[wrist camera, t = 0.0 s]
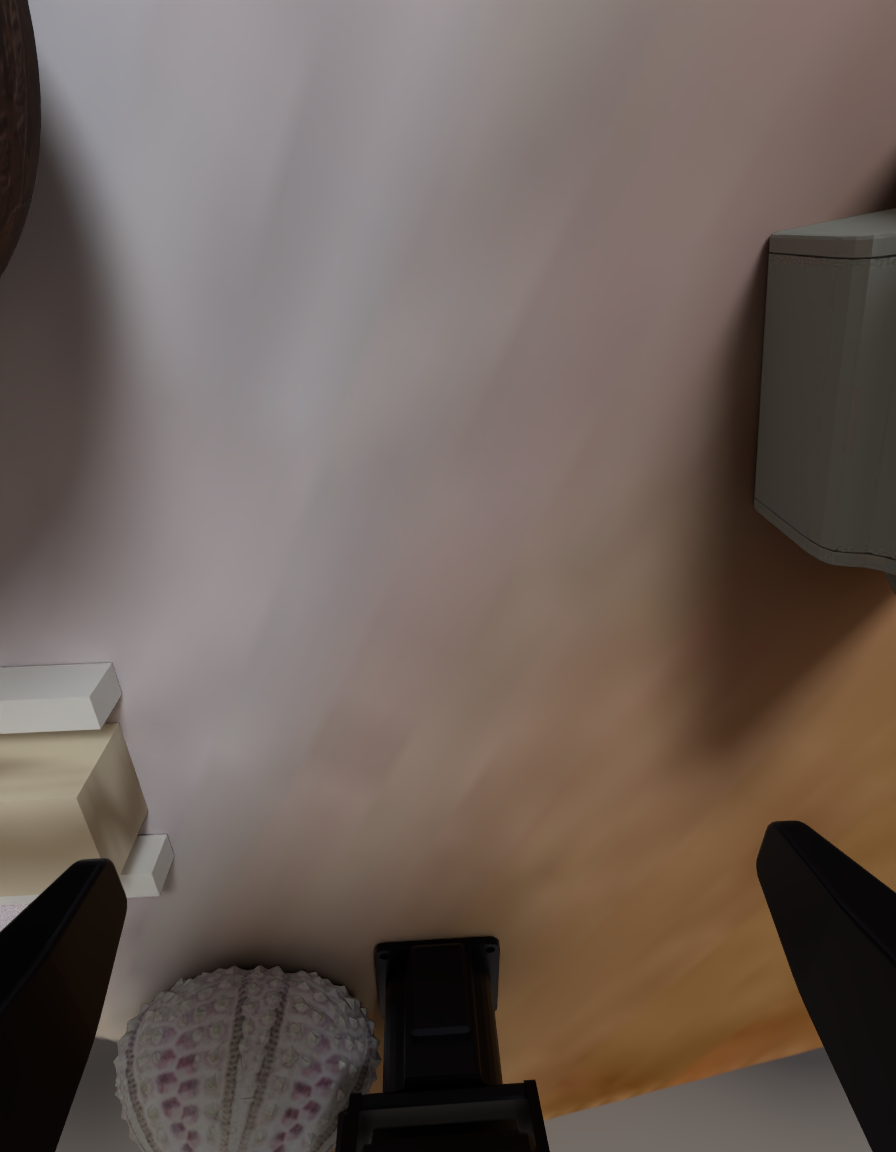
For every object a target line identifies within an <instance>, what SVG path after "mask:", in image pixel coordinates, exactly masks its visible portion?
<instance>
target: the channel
mask: <svg viewBox="0 0 896 1152" xmlns="http://www.w3.org/2000/svg"><path fill="white" fill-rule="evenodd" d="M121 695H122V693H121V689H120V686H119V683H118V680H117V677H116V674H115V671H114V668H113V664H112V663H97V664H73V665H49V666H25V667H1V668H0V734H8V733H30V732H52V731H74V730H95V729H101V728H102V726H103V725H104V723H105V721H106V720H107V718H108V716H109V715H110V713H111V711H112V710H113V708H114V706H115V705H116V703H117V702H118V700H119V698H120V697H121ZM173 858H174V855H173V851H172V848H171V845H170V842H169V839H168V836H167V834H163V835H144V836H137V837H136V840H135V842H134V844H133V847H132V849H131V851H130V853H129V856H128V858H127V860H126V863H125V865H124V867H123V869H122V872H121V874H120V876H119V878H120V881H121V883H122V886H123V888H124V891H125V894H126V897H127V898H136V897H153V896H160V894H161V891H162V888H163V886H164V883H165V880H166V877H167V875H168V872H169V869H170V866H171V864H172V861H173ZM39 895H40V894H39ZM39 895H22V896H5V897H0V905H15V904H30V903H31V902H32V901H33V900H35V899H36V898H37V897H38V896H39Z"/></svg>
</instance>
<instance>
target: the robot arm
mask: <svg viewBox="0 0 896 1152" xmlns="http://www.w3.org/2000/svg"><path fill="white" fill-rule="evenodd" d="M756 869H757V875H758V878H759V881H760V884H761V887H762V890H763V893H764V896H765V898H766V901H767V904H768V907H769V910H770V912H771V915H772V918H773V921H774V924H775V927H776V929H777V932H778V935H779V938H780V941H781V944H782V946H783V949H784V952H785V955H786V958H787V961H788V963H789V966H790V969H791V972H792V975H793V977H794V980H795V982H796V985H797V988H798V990H799V993H800V995H801V997H802V1000H803V1002H804V1004H805V1007H806V1009H807V1011H808V1013H809V1015H810V1018H811V1020H812V1022H813V1024H814V1026H815V1028H816V1031H817V1033H818V1035H819V1037H820V1039H821V1041H822V1044H823V1046H824V1048H825V1050H826V1052H827V1054H828V1056H829V1059H830V1061H831V1063H832V1065H833V1067H834V1069H835V1072H836V1074H837V1076H838V1078H839V1080H840V1082H841V1085H842V1087H843V1089H844V1091H845V1093H846V1095H847V1097H848V1100H849V1102H850V1104H851V1106H852V1108H853V1110H854V1113H855V1115H856V1117H857V1119H858V1121H859V1123H860V1126H861V1128H862V1129H863V1132H864V1134H865V1136H866V1138H867V1140H868V1143H869V1145H870V1147H871V1149H872V1151H873V1152H896V893H895V892H894V891H893V890H891V889H890V888H889V887H887V886H886V885H885V884H884V883H882V882H881V881H880V880H878V879H877V878H876V877H874V876H873V875H872V874H870V873H869V872H868V871H867V870H865V869H864V868H863V867H861V866H860V865H859V864H857V863H856V862H855V861H853V860H852V859H851V858H850V857H848V856H847V855H846V854H844V853H843V852H842V851H840V850H839V849H838V848H837V847H835V846H834V845H833V844H831V843H830V842H829V841H827V840H826V839H825V838H823V837H822V836H821V835H820V834H818V833H817V832H816V831H814V830H813V829H812V828H810V827H809V826H808V825H806V824H804V823H802V822H800V821H776V822H772V823H771V824H769V825H768V827H767V829H766V832H765V835H764V838H763V841H762V844H761V847H760V851H759V854H758V857H757V861H756ZM126 911H127V897H126V894H125V891H124V888H123V886H122V883H121V881H120V878H119V876H118V873H117V871H116V868H115V865H114V863H113V862H112V861H111V860H110V859H108V858H94V859H82V860H79V861H77V862H75V863H73V864H72V865H71V866H70V867H69V868H67V869H66V870H65V871H64V872H63V873H62V874H61V875H60V876H59V877H58V878H57V879H56V880H55V881H54V882H53V883H52V884H50V885H49V886H48V887H47V888H46V889H45V890H44V891H43V892H42V893H41V894H40V895H39V896H38V897H37V898H36V899H35V900H33V901H32V902H31V903H30V904H29V905H28V906H27V907H26V908H25V909H24V910H23V911H22V912H21V913H20V914H19V915H18V916H17V917H15V918H14V919H13V920H12V921H11V922H10V923H9V924H8V925H7V926H6V927H5V928H4V929H3V930H2V931H1V932H0V1152H55V1151H56V1148H57V1144H58V1142H59V1139H60V1136H61V1134H62V1131H63V1128H64V1125H65V1122H66V1119H67V1116H68V1114H69V1111H70V1108H71V1105H72V1102H73V1100H74V1097H75V1094H76V1091H77V1088H78V1085H79V1082H80V1080H81V1077H82V1074H83V1071H84V1069H85V1066H86V1063H87V1060H88V1057H89V1054H90V1051H91V1048H92V1045H93V1042H94V1039H95V1035H96V1031H97V1028H98V1024H99V1021H100V1017H101V1013H102V1009H103V1005H104V1001H105V997H106V993H107V989H108V985H109V981H110V977H111V973H112V969H113V965H114V961H115V957H116V953H117V949H118V945H119V941H120V937H121V933H122V929H123V924H124V920H125V916H126ZM499 956H500V947H499V941H498V939H497V938H495V937H476V938H460V939H444V940H428V941H411V942H395V943H382V944H379V945H377V946H376V948H375V964H376V973H377V982H378V991H379V1000H380V1009H381V1016H382V1018H384V1019H385V1026H384V1063H383V1093H374V1094H362V1092H354V1093H350V1097H349V1106H348V1108H347V1109H345V1110H343V1111H342V1112H340V1113H338V1124H337V1137H336V1149H335V1152H550V1151H549V1146H548V1141H547V1136H546V1131H545V1126H544V1121H543V1116H542V1111H541V1106H540V1101H539V1096H538V1091H537V1086H536V1081H535V1080H524V1083H513V1084H503V1082H502V1074H501V1065H500V1056H499V1047H498V1038H497V1029H496V1020H495V1011H496V1009H497V999H498V977H499Z"/></svg>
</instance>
